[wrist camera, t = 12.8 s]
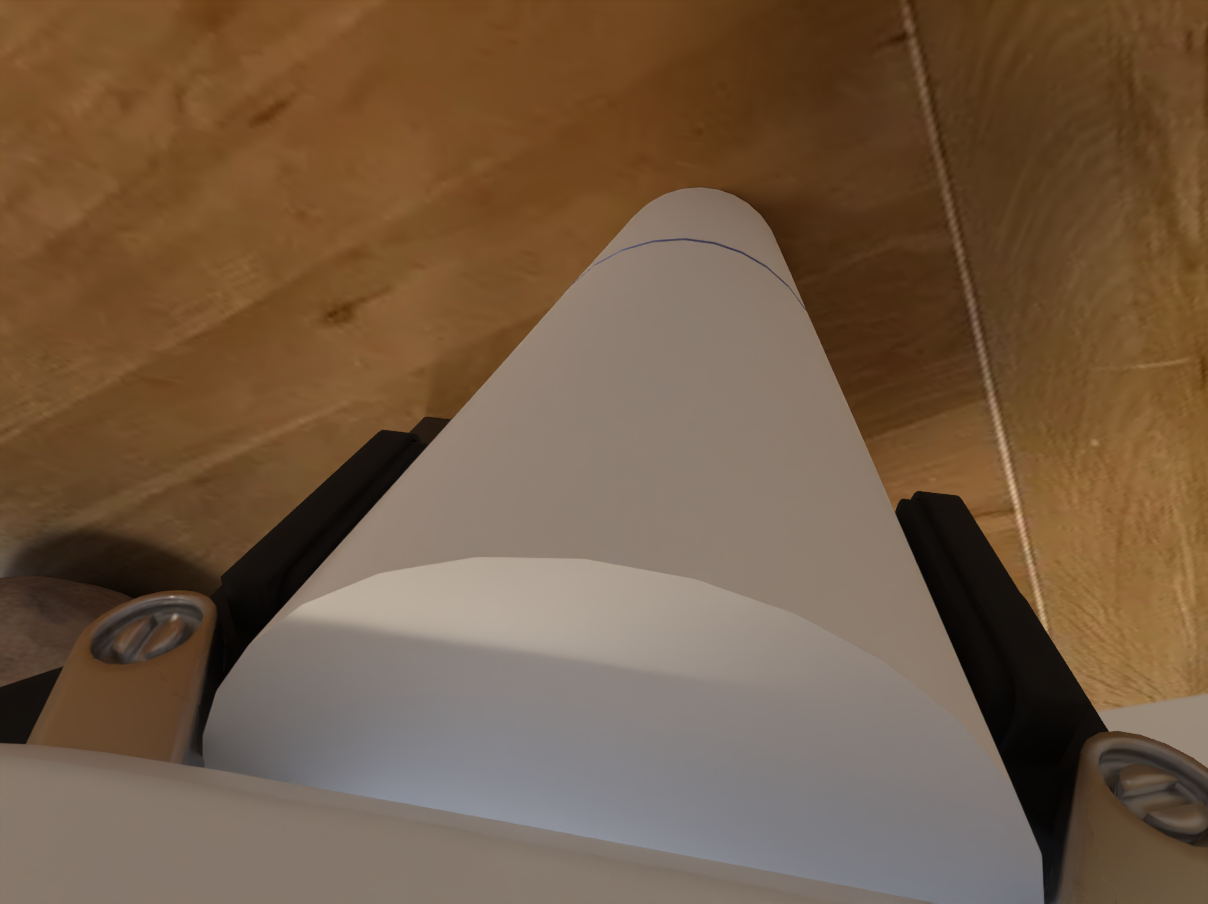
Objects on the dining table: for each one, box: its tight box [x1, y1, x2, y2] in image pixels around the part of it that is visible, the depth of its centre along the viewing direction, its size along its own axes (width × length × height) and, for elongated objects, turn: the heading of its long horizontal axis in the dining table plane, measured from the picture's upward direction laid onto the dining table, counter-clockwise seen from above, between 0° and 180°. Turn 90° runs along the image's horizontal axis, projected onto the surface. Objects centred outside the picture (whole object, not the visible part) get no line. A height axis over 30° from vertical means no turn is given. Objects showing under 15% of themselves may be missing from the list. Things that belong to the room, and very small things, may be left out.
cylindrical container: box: [203, 187, 1044, 904], centre depth 17 cm, size 7×7×25 cm
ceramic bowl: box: [0, 576, 133, 687], centre depth 38 cm, size 22×22×15 cm
